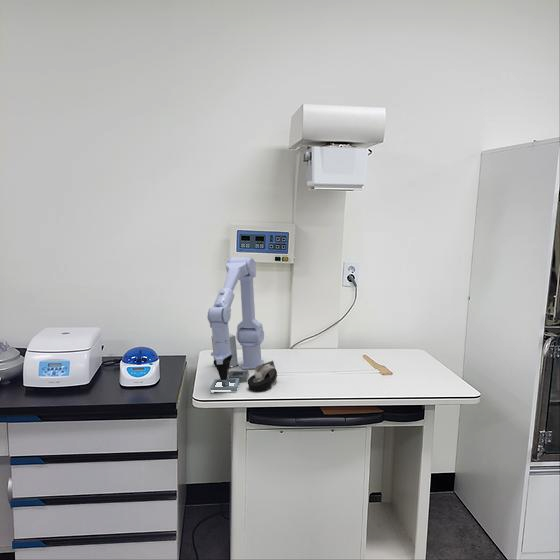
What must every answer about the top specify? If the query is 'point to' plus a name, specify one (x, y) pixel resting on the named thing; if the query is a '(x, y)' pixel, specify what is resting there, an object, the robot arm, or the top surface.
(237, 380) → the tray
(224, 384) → the lock pin
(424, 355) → the top surface
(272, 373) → the caster wheel
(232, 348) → the grey box
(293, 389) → the top surface
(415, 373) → the top surface
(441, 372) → the top surface
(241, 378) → the tensioner block
